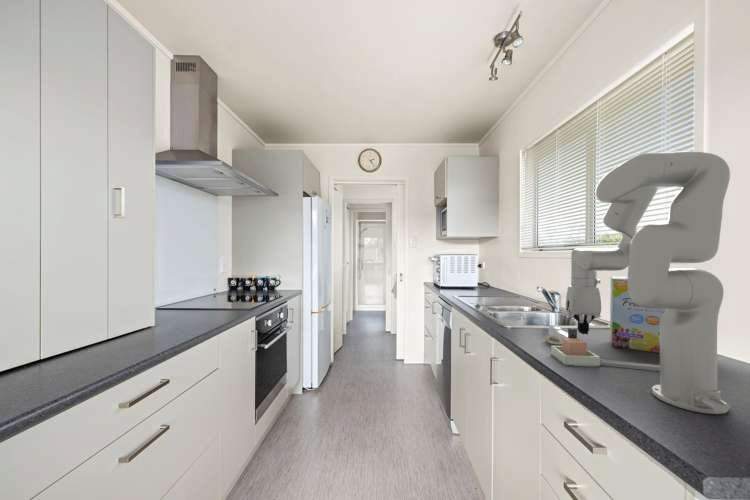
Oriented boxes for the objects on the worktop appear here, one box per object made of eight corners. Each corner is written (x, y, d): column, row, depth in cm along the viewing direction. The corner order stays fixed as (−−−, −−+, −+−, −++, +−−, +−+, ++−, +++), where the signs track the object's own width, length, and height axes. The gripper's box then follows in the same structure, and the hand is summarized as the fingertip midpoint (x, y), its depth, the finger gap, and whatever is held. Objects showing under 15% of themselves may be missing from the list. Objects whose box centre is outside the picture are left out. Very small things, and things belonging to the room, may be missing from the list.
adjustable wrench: (594, 366, 95) (594, 360, 95) (590, 359, 101) (590, 354, 101) (704, 379, 84) (703, 373, 84) (692, 371, 90) (692, 365, 90)
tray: (599, 366, 93) (599, 357, 93) (564, 365, 94) (564, 355, 94) (582, 355, 103) (582, 346, 103) (551, 354, 104) (551, 345, 104)
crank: (546, 337, 120) (546, 319, 120) (558, 337, 119) (558, 319, 119) (567, 350, 104) (567, 330, 104) (581, 351, 103) (581, 330, 103)
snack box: (611, 347, 111) (611, 277, 111) (609, 341, 118) (608, 275, 118) (695, 358, 99) (694, 280, 99) (686, 351, 106) (686, 278, 106)
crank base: (567, 345, 114) (567, 342, 114) (550, 344, 115) (550, 342, 115) (560, 340, 120) (560, 338, 120) (543, 340, 121) (543, 337, 121)
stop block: (586, 362, 96) (586, 343, 96) (569, 361, 96) (569, 342, 96) (578, 356, 101) (578, 338, 101) (562, 355, 101) (562, 337, 101)
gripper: (600, 281, 111) (599, 330, 111) (556, 281, 113) (556, 329, 114) (613, 284, 104) (612, 337, 104) (565, 283, 106) (565, 335, 106)
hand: (583, 333), depth 109 cm, fingers closed
